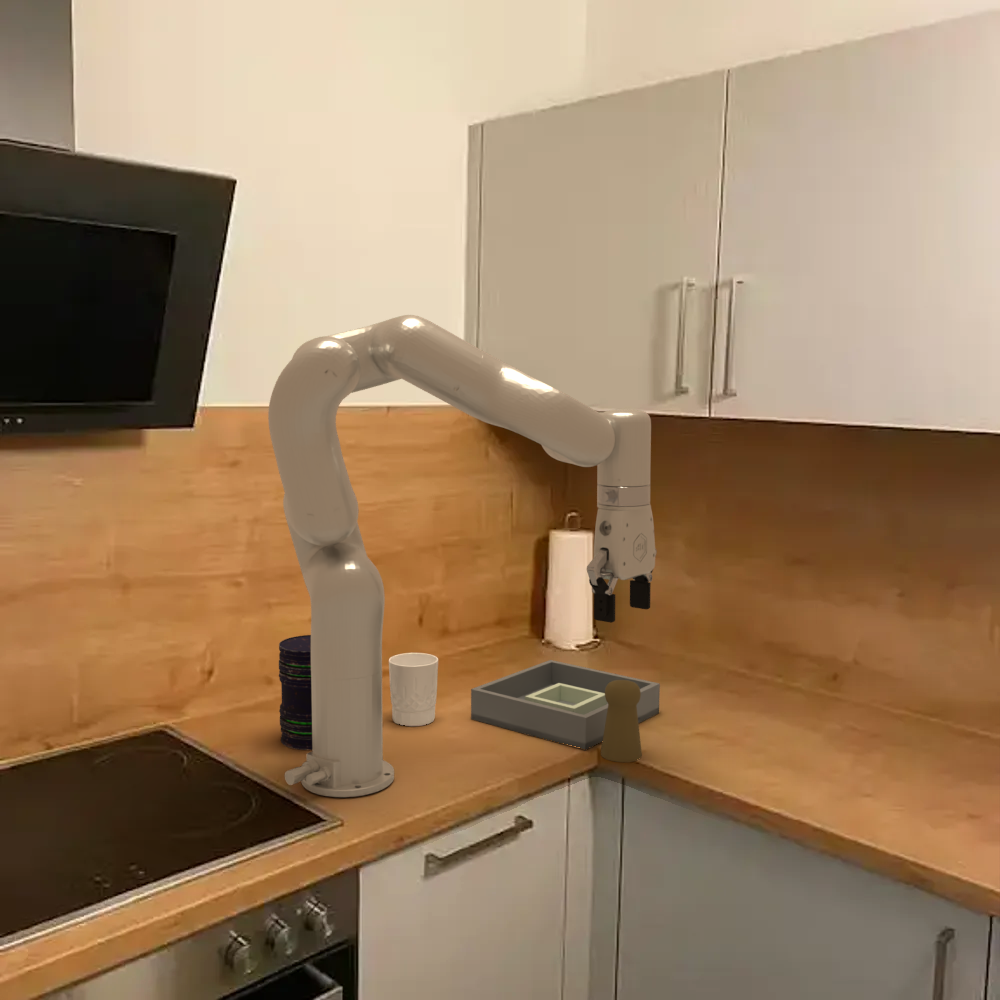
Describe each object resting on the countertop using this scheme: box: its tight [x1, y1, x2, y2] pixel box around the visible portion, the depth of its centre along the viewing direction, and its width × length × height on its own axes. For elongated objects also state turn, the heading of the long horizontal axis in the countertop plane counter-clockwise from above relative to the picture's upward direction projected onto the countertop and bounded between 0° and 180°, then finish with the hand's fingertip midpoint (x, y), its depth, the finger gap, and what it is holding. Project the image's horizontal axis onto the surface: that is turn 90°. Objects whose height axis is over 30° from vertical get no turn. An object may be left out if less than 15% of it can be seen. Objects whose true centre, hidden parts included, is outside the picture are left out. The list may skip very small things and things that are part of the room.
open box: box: [470, 659, 661, 751], centre depth 170 cm, size 22×22×5 cm
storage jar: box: [278, 634, 312, 751], centre depth 158 cm, size 10×10×15 cm
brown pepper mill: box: [600, 680, 643, 763], centre depth 152 cm, size 6×6×11 cm
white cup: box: [388, 652, 439, 727], centre depth 167 cm, size 8×8×10 cm
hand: (622, 614), depth 151 cm, fingers open, 9 cm apart
